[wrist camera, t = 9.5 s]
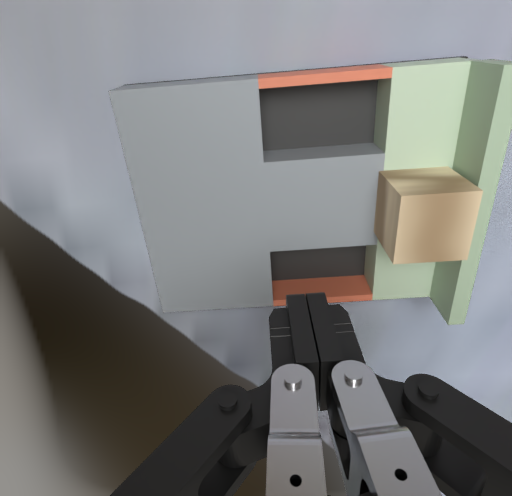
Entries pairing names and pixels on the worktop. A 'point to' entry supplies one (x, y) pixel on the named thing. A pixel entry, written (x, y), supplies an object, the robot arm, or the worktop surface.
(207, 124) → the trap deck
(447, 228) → the maple block
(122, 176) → the worktop surface
